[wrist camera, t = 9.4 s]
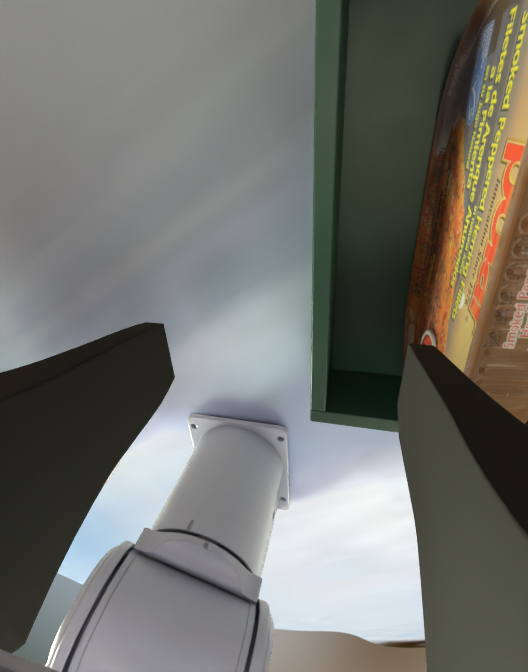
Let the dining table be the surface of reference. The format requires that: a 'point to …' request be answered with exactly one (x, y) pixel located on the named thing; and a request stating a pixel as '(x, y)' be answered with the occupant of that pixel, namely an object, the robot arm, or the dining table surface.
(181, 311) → the dining table surface
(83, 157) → the dining table surface
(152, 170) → the dining table surface
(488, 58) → the tin
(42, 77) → the dining table surface
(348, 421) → the tote
